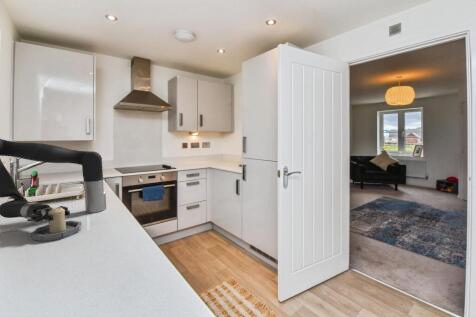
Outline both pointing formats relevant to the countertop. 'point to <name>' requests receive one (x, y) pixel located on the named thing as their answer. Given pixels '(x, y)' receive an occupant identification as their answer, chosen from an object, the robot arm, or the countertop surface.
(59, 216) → the candle
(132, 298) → the countertop surface
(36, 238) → the saucer
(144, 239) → the countertop surface
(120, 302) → the countertop surface
